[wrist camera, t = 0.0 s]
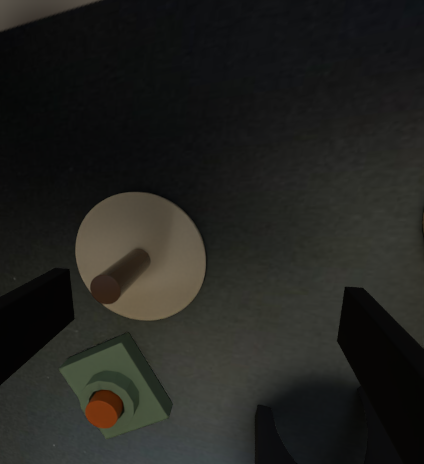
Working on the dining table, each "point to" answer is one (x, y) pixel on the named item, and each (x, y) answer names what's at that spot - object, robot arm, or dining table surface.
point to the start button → (104, 409)
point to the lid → (141, 256)
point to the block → (119, 383)
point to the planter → (279, 460)
